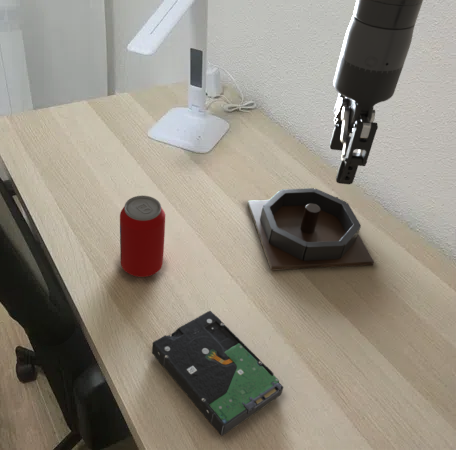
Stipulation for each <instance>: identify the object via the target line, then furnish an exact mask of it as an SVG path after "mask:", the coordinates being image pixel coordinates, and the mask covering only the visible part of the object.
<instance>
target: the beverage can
mask: <svg viewBox="0 0 456 450" xmlns="http://www.w3.org/2000/svg"><path fill="white" fill-rule="evenodd" d="M165 231H166V213H165V211H164V209H163V207H162V204H161V202H159V200H158V199H156V198H155V197H152V196H149V195H136V196H132V197H129V198H128V200H127V201H125V203H124V206H123V207H122V209H121V210H120V213H119V251H120V253H119V254H120V265H121V268H122V269H123V270H124V272H126V273H128V275H131V276H133V277H137V278H145V277H151V276H153V275H155V274H157V273H158V272H159V271H160V270H161V269H162V268H163V263H164V250H165V236H166V235H165V234H166V232H165Z"/></svg>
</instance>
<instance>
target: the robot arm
mask: <svg viewBox="0 0 456 450" xmlns="http://www.w3.org/2000/svg"><path fill="white" fill-rule="evenodd" d="M423 2H424V0H356V2H355V6H354V10H353V14H352V16H351V20H350V22H349V25H348V27H347V29H346V32H345V36H344V39H343V43H342V47H341V51H340V55H339V59H338V62H337V66H336V70H335V73H334V77H333V82H332V83H333V87H334V90H335V91H337V93H338V95H337V99H336V102H335V104H334V108H333V114H334V115H335V117H334V118H333V122H334V128H333V131H332V134H331V138H330V142H329V148H330V150H332V151H342V153H341V156H340V157H341V158H340V162H339V165H338V169H337V172H336V175H335V182H336V183H337V184H340V185H342V184H343V185H352V184H353V183H354V180H355V177H356V174H357V171H358V168H359V167H366V164H368V159H369V156H370V153H371V149H372V147H373V143H374V140H375V137H376V133H377V130H378V129H379V126H378V122H375V117H376V109H374V107H375V106H376V105H377V104H379V103H382V102H386V101H388V100H390V99H391V98H392V97H393V96H394V94H395V93H396V92H395V91H396V88H397V86H398V83H399V80H400V77H401V75H402V71H403V68H404V65H405V63H406V59H407V56H408V53H409V51H410V48H411V44H412V40H413V35H414V30H415V26H416V24H417V23H416V22H417V20H418V17H419V14H420V11H421V8H422V5H423ZM350 135H351V136H350ZM356 150H357V152H354V151H356Z"/></svg>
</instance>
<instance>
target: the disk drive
mask: <svg viewBox="0 0 456 450" xmlns="http://www.w3.org/2000/svg"><path fill="white" fill-rule="evenodd" d="M151 348H152V349H151V353H152V355H153V356H154V357H155V359H156V360H157V362H158V363H160V365H161V366H162V367H163V368H164V370H165V371H166V372H167V374H168V375H169V376H170V377H171V378H172V379H173V380H174V381H175V383H176V384H177V386H179V387H180V389H181V390H182V391H183V392H184V393H185V394H186V395H187V397H188V398H189V399H190V401H191V402H192V404H194V406H195V407H196V408H197V410H199V412H200V413H201V414H202V415H203V416H204V417H205V419H206V420H207V421H208V423H210V425H211V426H212V427H213V428H214V429H215V430H216V431H217V433H218V434H219V435H220V436H222V437H223V436H225V435H226V434H227V433H229V432H230V431H232V430H234V429H235V428H236V427H239V426H240V425H241V424H242V423H244V422H245V421H246V420H248V419H249V418H251V417H252V416H253V415H255V414H256V413H258V412H260V411H261V410H262V409H263V408H265V407H266V406H267V405H269V404H270V403H272V402H273V401H275V400H276V399H277V398H278V397H279V398H280V397H281V395H282V393H283V389H284V386H283V385H282V384H281V383H280V380H279V378H278V377H277V376H275V375H274V372H273V371H272V370H271V369H270V368H269V367H268V366H267V365H266V364H264V362H262V361H261V359H260V358H259V357H257V355H256V354H255V353H254V352H253V351H252V350H251V349H250V348H249V347H248V346H247V345H246V344H245V343H244V342H243V341H242V340H240V338H239V337H238V336H237V335H236V334H235V333H234V332H233V331H232V330H231V329H230V328H229V327H228V326H227V325H225V323H224V322H223V321H222V320H221V319H220V318H219V317H218V316H217V315H216V314H215V313H213V312H212V310H208V311H207V312H205V313H202V314H201V315H199V316H198V317H196V318H194V319H192V320H190V321H188V322H186V323H185V324H183V325H181V326H179V327H178V328H177V329H176V330H175V331H174V332H172V333H171V335H163V336H161V337H159V338H158V339H156V340H154V341H153V342H152V347H151Z"/></svg>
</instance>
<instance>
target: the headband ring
mask: <svg viewBox="0 0 456 450" xmlns="http://www.w3.org/2000/svg"><path fill="white" fill-rule="evenodd" d="M336 197H337V196H334V195H331V194H329V193H327V192H325V191H322V190H320V189H318V188H314V187H310V188H309V187H308V188H305V187H304V188H285V189H284V188H283V189H282V188H281V189H279V190H278V191H277V192H276V193H275V194H274V195H273V196H272V197H270V198H269V199H267V200H268V201H267V202H266V203H265V204H264V205H263V207H262V212H261V217H260V221H261V224H262V226H263V229H264V232H265V234H266V237H267V240H268V242H269V243H270V244H271V245H273V246H275V247H277V248H279V249H281V250H283V251H285V252H287V253H289V254H291V255H292V256H294V257H296V258H298V259H300V260H304V261H309V260H330V259H339V258H342V256H343V255H344V254H345V253H346V252H347V250H348V249H349V248H350V247H351V245H352V244H353V243H354V242H355V241H356V239H357V236H358V234H359V233H360V230H361V227H362V225H361V223H360V221H359V219H358V217H357V216H356V214H355V213H354V211H353V210H352V208H351V206H350V204H349V203H348V202H347V201H345V200H344V199H341V198H339V197H338V198H336ZM307 204H316V205H318V206H319V207H320V210H322V211H325V212H327V213H329V214H331V215H333V216H335V217H338V219H339V221H340V223H341V224H342V226H343V228H344V230H345V232H346V234H345V235H344V236H343V237H342V238H341V240H340V241H327V242H305V241H303V240H301V239H299V238H297V237H295V236H293V235H291V234H289V233H287V232H285V231H283V230H281V229H279V228H278V227H277V224H276V222H275V219H274V217H273V214H274V213H275V212H276V211H278V210H279V209H280V208H281V207H282V206H300V205H307Z"/></svg>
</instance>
